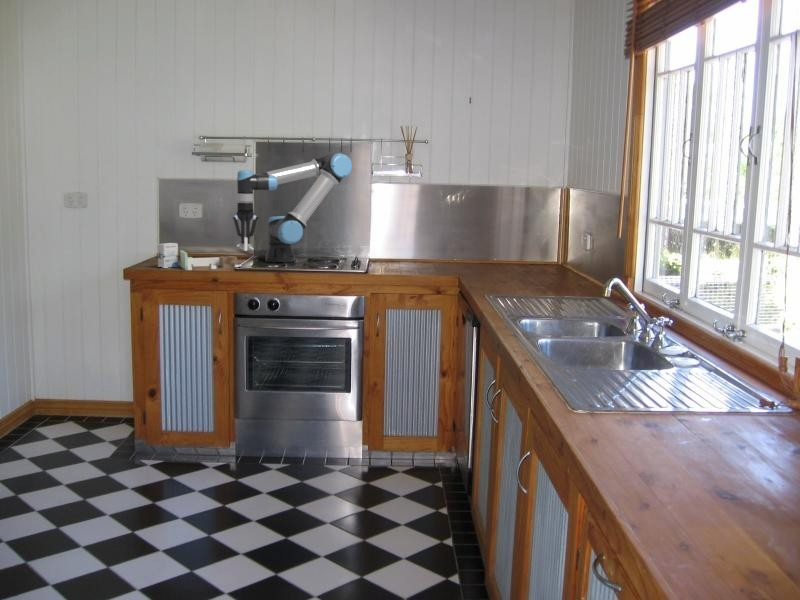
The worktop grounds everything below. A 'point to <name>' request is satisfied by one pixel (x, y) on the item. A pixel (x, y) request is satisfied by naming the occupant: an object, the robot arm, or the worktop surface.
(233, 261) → the block
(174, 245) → the ink box
